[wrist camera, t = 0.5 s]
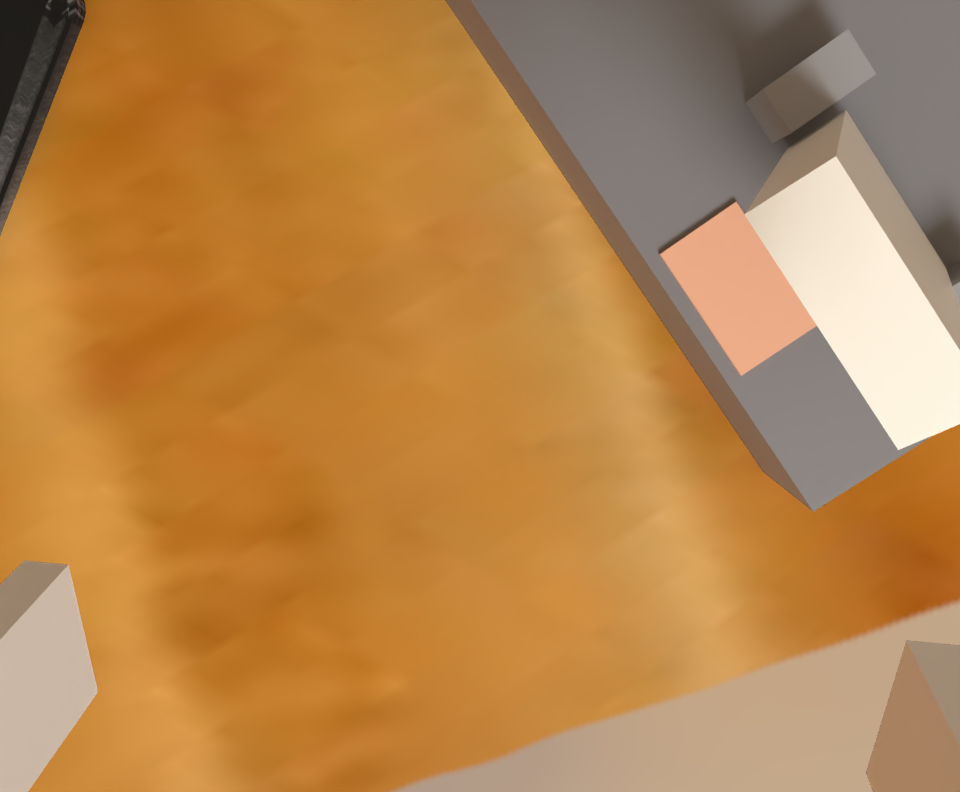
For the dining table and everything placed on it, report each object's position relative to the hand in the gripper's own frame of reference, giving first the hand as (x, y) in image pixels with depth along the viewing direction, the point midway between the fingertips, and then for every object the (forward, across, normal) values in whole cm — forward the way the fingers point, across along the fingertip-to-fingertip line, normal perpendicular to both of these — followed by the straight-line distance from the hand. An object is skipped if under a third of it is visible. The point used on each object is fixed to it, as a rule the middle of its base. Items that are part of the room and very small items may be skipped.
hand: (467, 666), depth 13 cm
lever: (+19, +11, +4) cm, 22 cm away
